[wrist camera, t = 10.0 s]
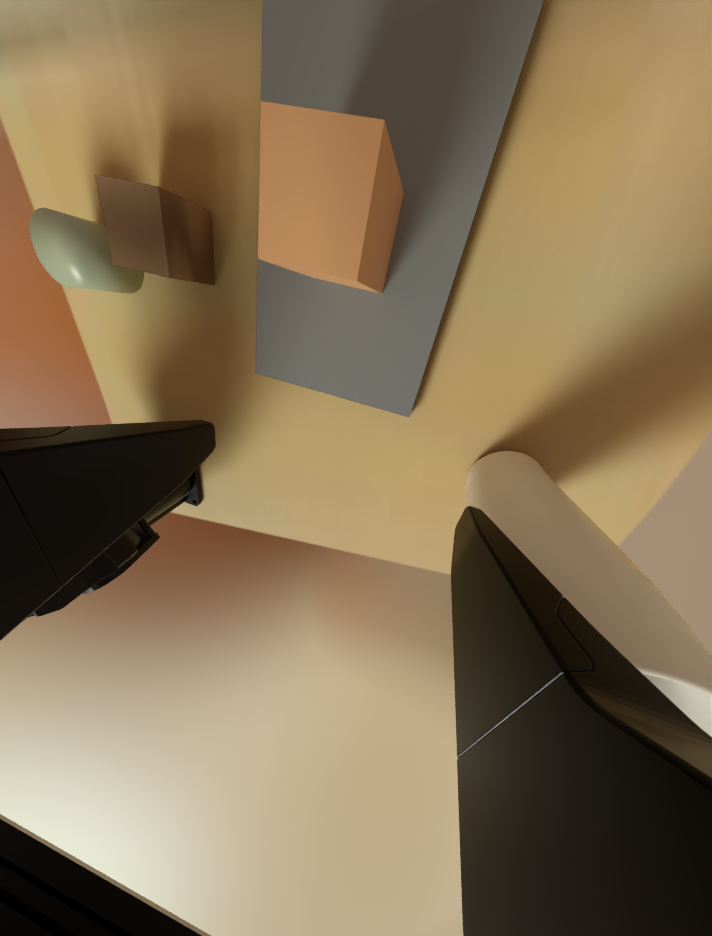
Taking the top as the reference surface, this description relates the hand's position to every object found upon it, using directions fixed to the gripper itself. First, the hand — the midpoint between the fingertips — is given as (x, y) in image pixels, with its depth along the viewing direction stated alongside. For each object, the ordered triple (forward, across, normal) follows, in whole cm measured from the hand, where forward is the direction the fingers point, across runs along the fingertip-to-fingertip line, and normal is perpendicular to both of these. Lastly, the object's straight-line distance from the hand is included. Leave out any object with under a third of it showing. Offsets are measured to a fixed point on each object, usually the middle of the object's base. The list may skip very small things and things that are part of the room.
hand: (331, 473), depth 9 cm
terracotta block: (+12, +4, -8) cm, 15 cm away
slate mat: (+12, +4, -8) cm, 15 cm away
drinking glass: (+13, -10, +4) cm, 17 cm away
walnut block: (+13, +16, -6) cm, 21 cm away
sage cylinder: (+13, +22, -4) cm, 26 cm away
